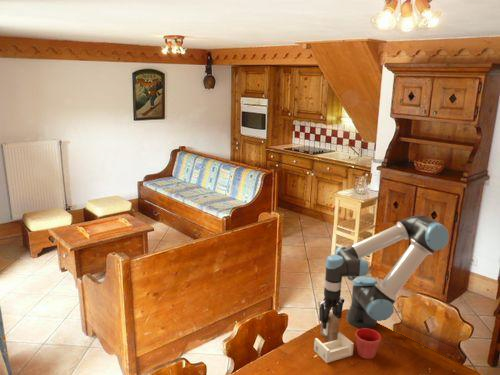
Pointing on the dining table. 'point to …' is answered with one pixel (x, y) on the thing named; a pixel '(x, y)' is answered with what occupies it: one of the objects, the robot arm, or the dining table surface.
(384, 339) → the dining table surface
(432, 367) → the dining table surface
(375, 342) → the flower pot
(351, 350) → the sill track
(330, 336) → the walnut panel
